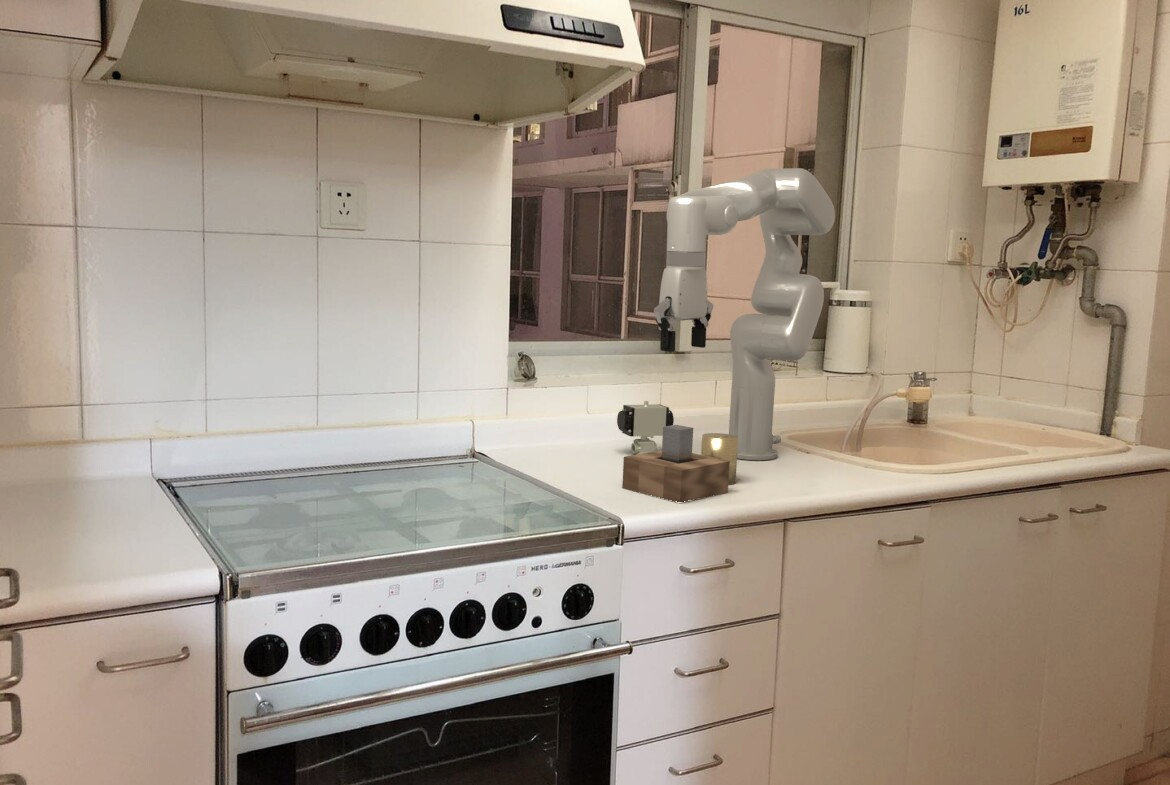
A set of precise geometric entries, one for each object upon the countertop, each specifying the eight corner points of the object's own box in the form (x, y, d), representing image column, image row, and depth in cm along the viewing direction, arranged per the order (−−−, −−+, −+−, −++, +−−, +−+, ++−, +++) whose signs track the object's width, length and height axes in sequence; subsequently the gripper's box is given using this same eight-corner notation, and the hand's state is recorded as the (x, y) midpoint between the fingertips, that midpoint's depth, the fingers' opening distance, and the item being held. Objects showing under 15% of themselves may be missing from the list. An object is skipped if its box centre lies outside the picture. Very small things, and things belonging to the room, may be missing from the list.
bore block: (670, 478, 194) (672, 448, 193) (727, 492, 184) (729, 461, 183) (622, 488, 184) (623, 456, 183) (679, 503, 174) (681, 470, 173)
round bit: (714, 475, 198) (716, 431, 197) (742, 482, 193) (745, 437, 192) (692, 480, 193) (695, 435, 192) (721, 487, 188) (724, 440, 187)
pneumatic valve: (672, 456, 216) (675, 402, 214) (623, 458, 211) (626, 403, 210) (661, 451, 221) (664, 398, 219) (613, 453, 217) (615, 399, 215)
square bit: (672, 486, 187) (676, 424, 185) (689, 490, 184) (693, 427, 182) (659, 489, 184) (663, 426, 182) (676, 493, 181) (680, 430, 180)
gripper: (697, 259, 199) (694, 343, 202) (642, 261, 186) (640, 350, 189) (728, 261, 194) (724, 347, 196) (673, 262, 181) (670, 354, 184)
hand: (683, 348), depth 193 cm, fingers open, 9 cm apart
